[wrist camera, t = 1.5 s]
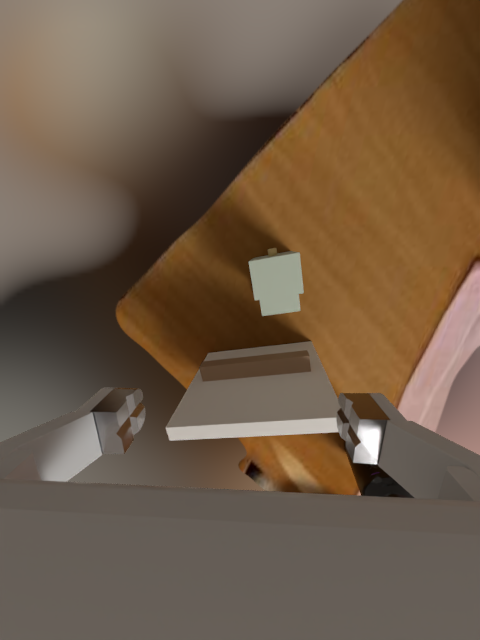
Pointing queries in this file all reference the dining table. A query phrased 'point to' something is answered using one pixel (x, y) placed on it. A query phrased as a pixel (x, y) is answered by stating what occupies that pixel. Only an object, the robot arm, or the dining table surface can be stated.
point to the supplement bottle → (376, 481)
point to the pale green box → (277, 281)
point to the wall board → (257, 395)
